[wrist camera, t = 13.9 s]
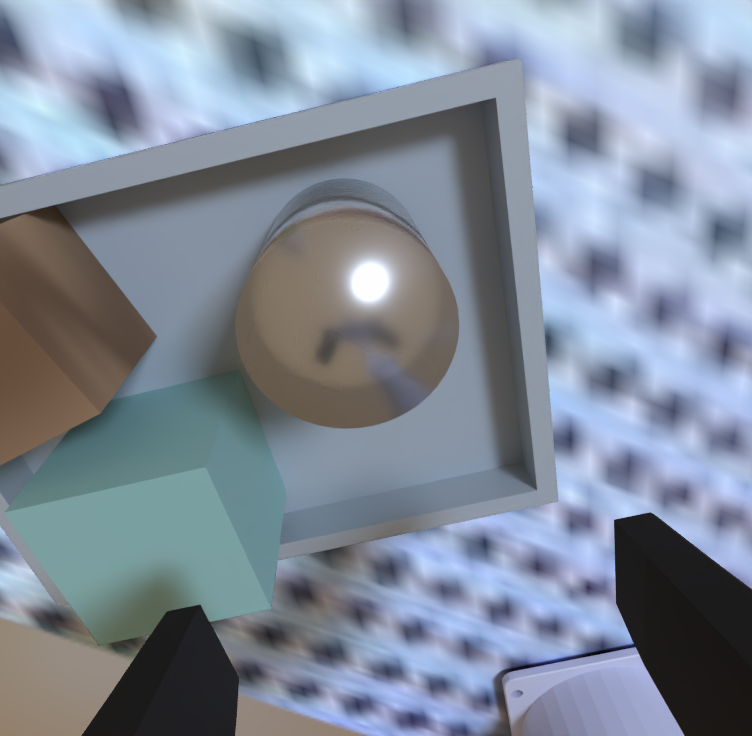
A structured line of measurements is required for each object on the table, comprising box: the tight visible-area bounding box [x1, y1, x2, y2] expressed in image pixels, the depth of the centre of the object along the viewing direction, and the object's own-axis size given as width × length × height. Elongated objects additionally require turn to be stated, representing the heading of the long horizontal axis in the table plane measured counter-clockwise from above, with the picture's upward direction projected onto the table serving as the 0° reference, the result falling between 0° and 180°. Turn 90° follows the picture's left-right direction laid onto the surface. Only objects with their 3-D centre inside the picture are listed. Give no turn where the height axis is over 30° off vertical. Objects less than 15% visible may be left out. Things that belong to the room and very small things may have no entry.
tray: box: [0, 59, 558, 606], centre depth 15 cm, size 12×16×2 cm
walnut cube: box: [0, 205, 157, 465], centre depth 13 cm, size 4×4×4 cm
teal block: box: [4, 370, 286, 645], centre depth 15 cm, size 4×4×4 cm
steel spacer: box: [235, 178, 459, 429], centre depth 12 cm, size 4×4×5 cm
